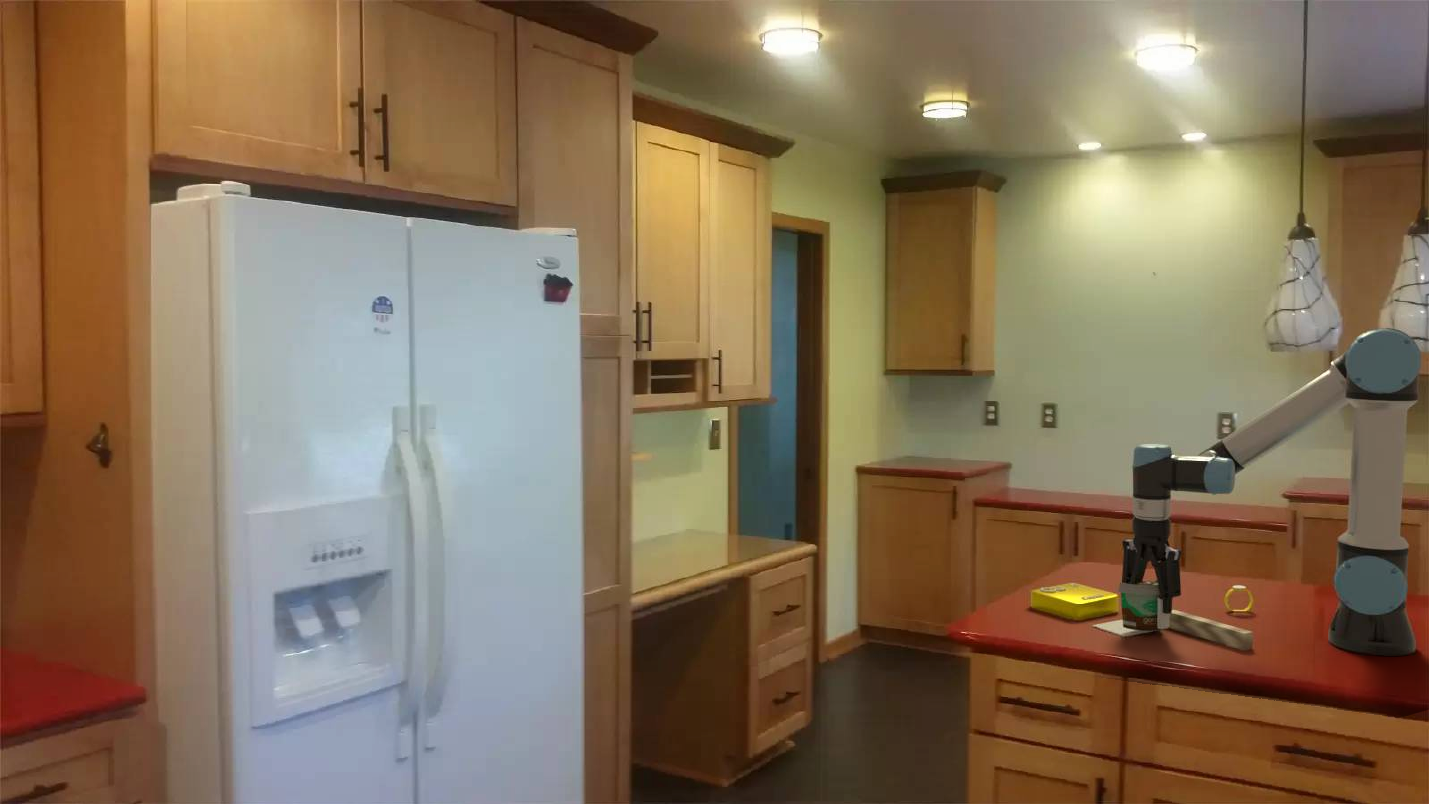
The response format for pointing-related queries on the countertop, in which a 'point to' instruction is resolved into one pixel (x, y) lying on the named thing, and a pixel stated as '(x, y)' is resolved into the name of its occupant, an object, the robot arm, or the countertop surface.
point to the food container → (1140, 605)
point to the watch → (1239, 588)
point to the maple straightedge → (1211, 630)
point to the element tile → (1074, 601)
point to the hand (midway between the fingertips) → (1150, 623)
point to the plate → (1119, 628)
